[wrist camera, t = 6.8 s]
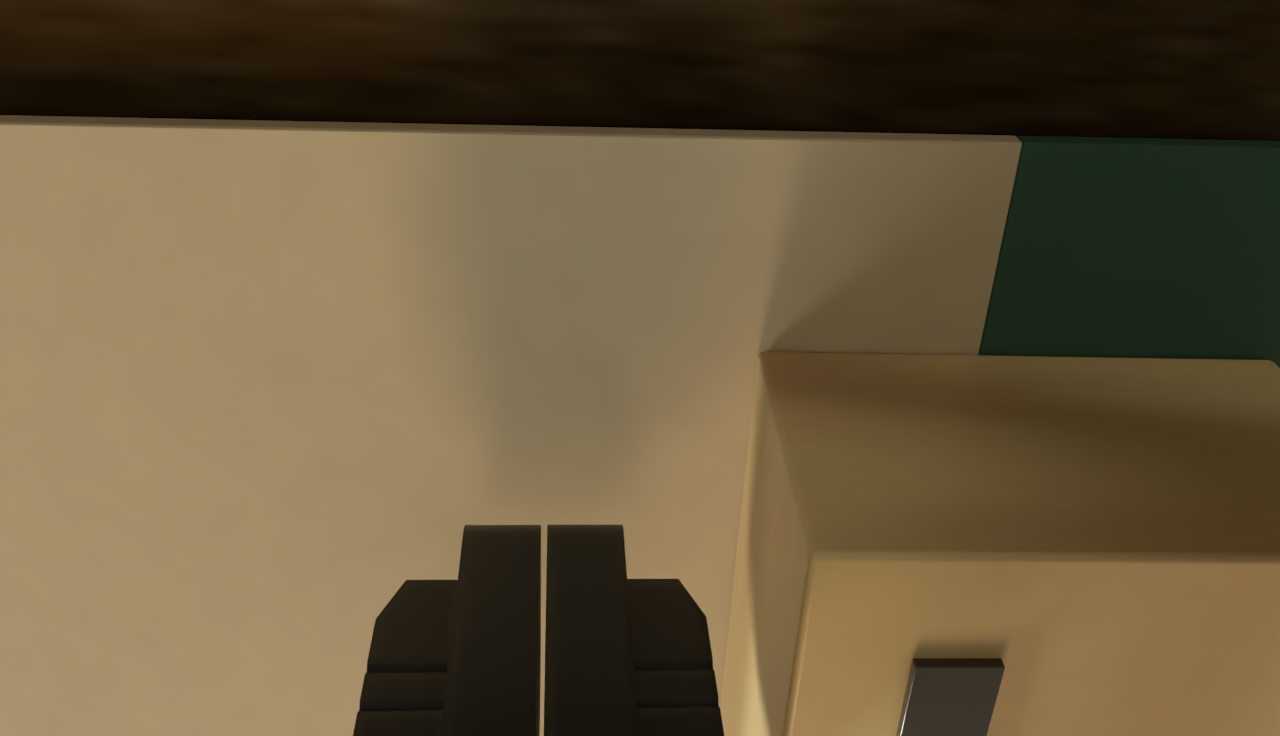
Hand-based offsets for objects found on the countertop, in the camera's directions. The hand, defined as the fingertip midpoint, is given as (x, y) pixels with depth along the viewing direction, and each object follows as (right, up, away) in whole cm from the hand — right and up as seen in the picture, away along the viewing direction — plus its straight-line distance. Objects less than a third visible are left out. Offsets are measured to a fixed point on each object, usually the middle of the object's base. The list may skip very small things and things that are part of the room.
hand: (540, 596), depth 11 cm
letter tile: (+4, 0, +1) cm, 5 cm away
